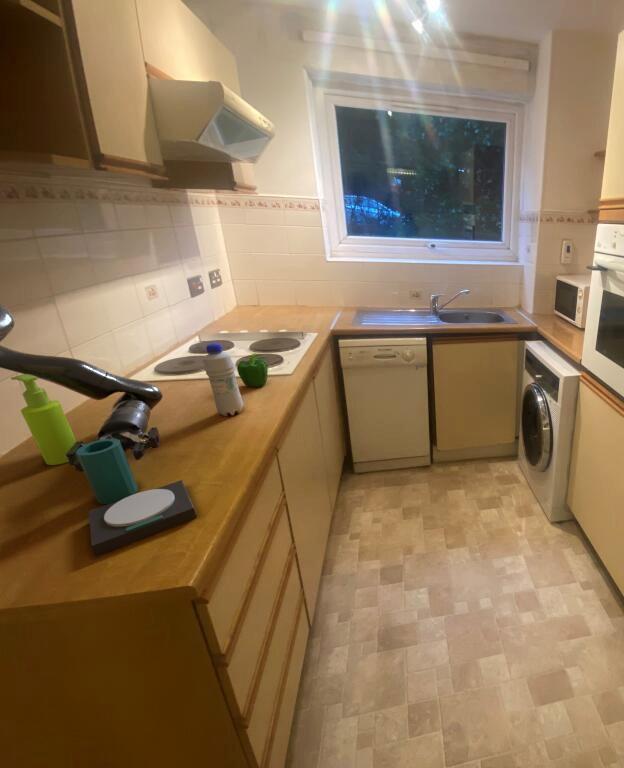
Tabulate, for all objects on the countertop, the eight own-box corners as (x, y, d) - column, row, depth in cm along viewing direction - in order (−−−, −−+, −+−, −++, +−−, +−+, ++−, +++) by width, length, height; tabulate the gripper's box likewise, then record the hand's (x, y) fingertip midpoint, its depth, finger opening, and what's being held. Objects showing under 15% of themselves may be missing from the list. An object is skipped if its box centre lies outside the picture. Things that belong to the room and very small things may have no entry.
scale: (96, 556, 71) (90, 543, 70) (92, 520, 79) (87, 508, 78) (197, 517, 80) (192, 505, 79) (184, 488, 88) (180, 477, 87)
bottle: (211, 417, 118) (191, 346, 110) (229, 406, 124) (211, 339, 116) (234, 418, 117) (215, 348, 109) (251, 408, 123) (234, 340, 115)
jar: (98, 508, 83) (76, 459, 78) (96, 493, 87) (75, 446, 82) (139, 494, 86) (120, 447, 82) (136, 481, 91) (118, 435, 86)
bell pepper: (249, 392, 133) (241, 361, 130) (237, 385, 138) (229, 356, 134) (276, 383, 140) (270, 354, 136) (264, 378, 144) (257, 349, 140)
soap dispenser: (68, 448, 102) (32, 369, 95) (87, 453, 100) (53, 373, 93) (36, 461, 97) (-4, 379, 89) (56, 467, 95) (17, 383, 87)
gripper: (168, 434, 103) (159, 467, 90) (89, 450, 97) (67, 488, 84) (159, 406, 100) (147, 436, 88) (77, 420, 94) (52, 455, 81)
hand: (108, 461), depth 86 cm, fingers open, 8 cm apart
